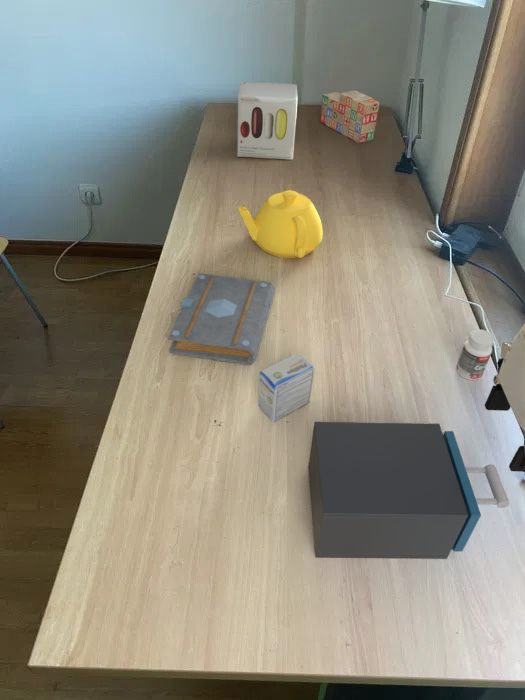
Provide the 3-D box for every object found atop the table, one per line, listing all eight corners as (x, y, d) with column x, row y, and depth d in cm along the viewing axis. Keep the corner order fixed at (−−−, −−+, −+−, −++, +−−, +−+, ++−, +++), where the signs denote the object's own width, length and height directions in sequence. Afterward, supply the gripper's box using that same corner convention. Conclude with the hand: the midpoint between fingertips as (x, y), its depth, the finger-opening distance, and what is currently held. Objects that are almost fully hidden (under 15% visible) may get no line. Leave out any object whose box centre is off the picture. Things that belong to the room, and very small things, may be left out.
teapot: (308, 222, 142) (313, 173, 133) (334, 262, 128) (341, 211, 120) (231, 230, 138) (230, 181, 129) (249, 273, 124) (250, 221, 116)
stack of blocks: (319, 122, 194) (323, 84, 186) (333, 119, 197) (338, 82, 188) (359, 144, 181) (364, 104, 173) (373, 140, 183) (380, 101, 175)
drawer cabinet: (422, 468, 86) (439, 423, 79) (446, 559, 75) (468, 515, 68) (308, 467, 85) (314, 421, 78) (315, 557, 75) (323, 513, 68)
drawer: (476, 469, 85) (494, 431, 79) (505, 552, 75) (528, 515, 69) (329, 467, 85) (336, 429, 79) (338, 550, 75) (347, 513, 69)
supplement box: (236, 158, 170) (236, 95, 158) (239, 141, 180) (239, 80, 168) (293, 160, 170) (298, 98, 158) (293, 143, 180) (297, 83, 168)
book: (255, 367, 102) (256, 346, 98) (167, 354, 103) (165, 333, 100) (274, 299, 117) (275, 279, 114) (197, 289, 119) (196, 269, 116)
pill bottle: (473, 384, 100) (487, 349, 94) (450, 370, 102) (462, 335, 97) (487, 372, 102) (501, 337, 97) (464, 359, 105) (477, 324, 99)
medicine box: (294, 387, 98) (297, 350, 92) (310, 403, 95) (315, 366, 90) (257, 407, 94) (258, 369, 89) (273, 423, 92) (276, 386, 86)
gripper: (638, 392, 53) (565, 497, 64) (564, 285, 66) (514, 388, 77) (559, 390, 52) (500, 496, 64) (500, 283, 65) (460, 387, 77)
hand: (508, 437), depth 70 cm, fingers open, 9 cm apart
